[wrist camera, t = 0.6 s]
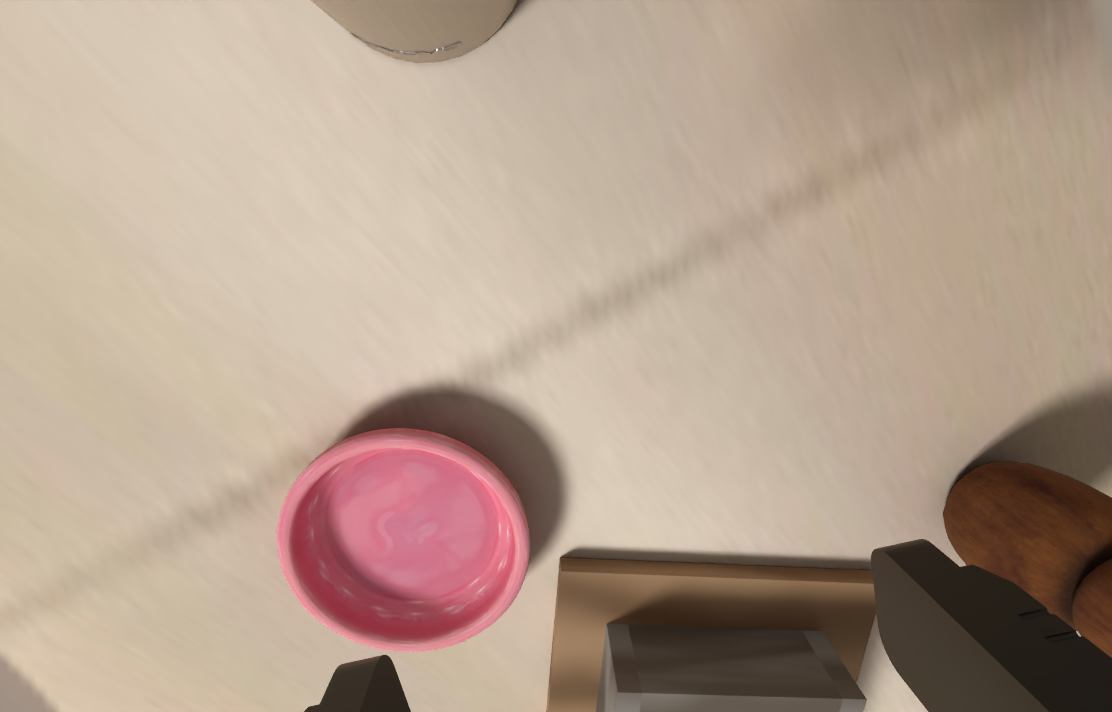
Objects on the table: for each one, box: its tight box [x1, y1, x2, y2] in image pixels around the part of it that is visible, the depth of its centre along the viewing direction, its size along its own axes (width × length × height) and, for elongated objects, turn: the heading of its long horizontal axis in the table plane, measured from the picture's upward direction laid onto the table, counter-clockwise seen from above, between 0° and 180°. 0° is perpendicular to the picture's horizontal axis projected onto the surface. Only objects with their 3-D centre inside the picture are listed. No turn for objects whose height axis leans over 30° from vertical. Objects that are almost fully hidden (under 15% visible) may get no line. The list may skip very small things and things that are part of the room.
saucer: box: [277, 428, 530, 652], centre depth 30 cm, size 12×12×3 cm
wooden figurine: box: [943, 462, 1112, 658], centre depth 24 cm, size 7×6×15 cm
